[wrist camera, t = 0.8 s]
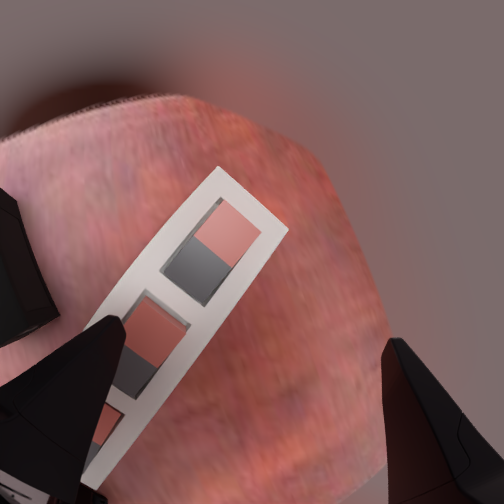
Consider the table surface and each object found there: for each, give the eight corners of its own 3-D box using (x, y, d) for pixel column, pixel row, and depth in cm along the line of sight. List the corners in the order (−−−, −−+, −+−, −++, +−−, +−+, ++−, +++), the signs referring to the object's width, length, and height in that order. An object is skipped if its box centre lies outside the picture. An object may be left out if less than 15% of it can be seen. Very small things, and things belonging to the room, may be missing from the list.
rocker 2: (135, 387, 17) (133, 397, 15) (98, 360, 16) (92, 368, 15) (185, 326, 17) (186, 333, 16) (145, 295, 17) (142, 300, 15)
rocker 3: (201, 298, 19) (202, 303, 18) (165, 269, 19) (163, 272, 17) (256, 232, 20) (261, 232, 19) (221, 201, 19) (224, 199, 18)
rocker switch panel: (86, 481, 16) (83, 506, 12) (22, 438, 14) (9, 458, 10) (266, 237, 25) (289, 229, 21) (205, 184, 23) (218, 165, 20)
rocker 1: (83, 466, 13) (83, 474, 12) (46, 442, 12) (43, 448, 11) (119, 409, 16) (121, 414, 15) (82, 383, 15) (81, 386, 14)
